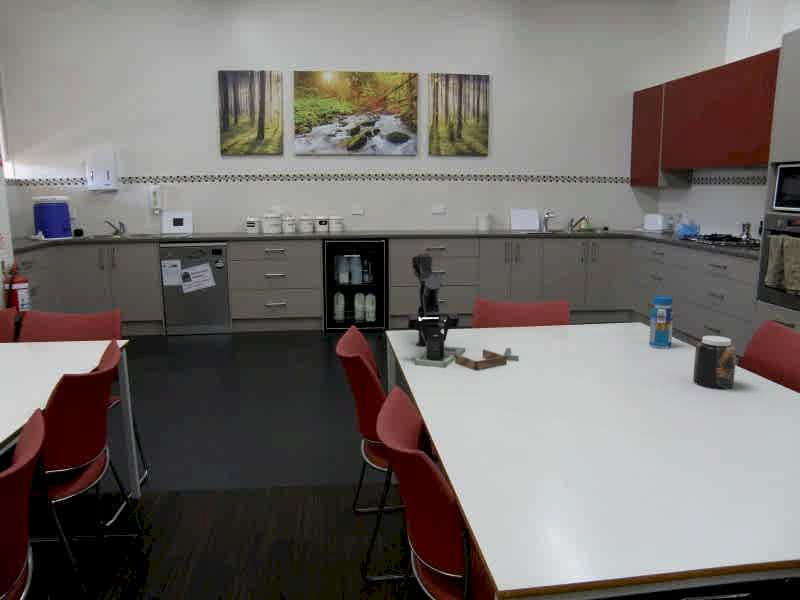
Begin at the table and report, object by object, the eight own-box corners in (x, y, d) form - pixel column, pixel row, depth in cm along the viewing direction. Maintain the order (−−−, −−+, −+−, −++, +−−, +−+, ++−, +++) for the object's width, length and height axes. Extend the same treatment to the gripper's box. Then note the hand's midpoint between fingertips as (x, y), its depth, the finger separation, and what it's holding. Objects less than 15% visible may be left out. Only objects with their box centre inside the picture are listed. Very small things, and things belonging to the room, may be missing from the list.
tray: (424, 356, 243) (424, 352, 243) (454, 359, 239) (454, 354, 239) (414, 364, 232) (414, 359, 232) (445, 367, 228) (445, 362, 228)
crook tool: (506, 352, 249) (506, 348, 249) (521, 353, 248) (521, 349, 248) (502, 360, 238) (502, 355, 238) (518, 361, 236) (518, 356, 236)
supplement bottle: (448, 357, 236) (447, 325, 234) (438, 361, 231) (438, 329, 228) (431, 354, 240) (431, 323, 238) (422, 359, 234) (421, 327, 232)
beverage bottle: (644, 345, 259) (647, 296, 255) (659, 342, 262) (662, 294, 259) (660, 349, 251) (663, 299, 248) (676, 347, 255) (679, 297, 251)
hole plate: (440, 348, 254) (440, 346, 254) (465, 351, 251) (465, 348, 251) (433, 355, 245) (433, 352, 245) (458, 357, 242) (458, 354, 242)
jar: (691, 386, 206) (695, 340, 203) (694, 376, 216) (697, 333, 213) (733, 391, 200) (737, 344, 198) (733, 381, 211) (737, 336, 208)
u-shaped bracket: (455, 362, 234) (455, 354, 234) (484, 357, 242) (484, 349, 241) (476, 370, 225) (476, 362, 224) (506, 364, 232) (506, 356, 231)
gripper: (453, 315, 249) (457, 351, 241) (404, 317, 248) (408, 352, 239) (456, 299, 240) (462, 335, 231) (407, 300, 238) (410, 337, 230)
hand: (435, 340), depth 233 cm, fingers closed on supplement bottle, 7 cm apart
